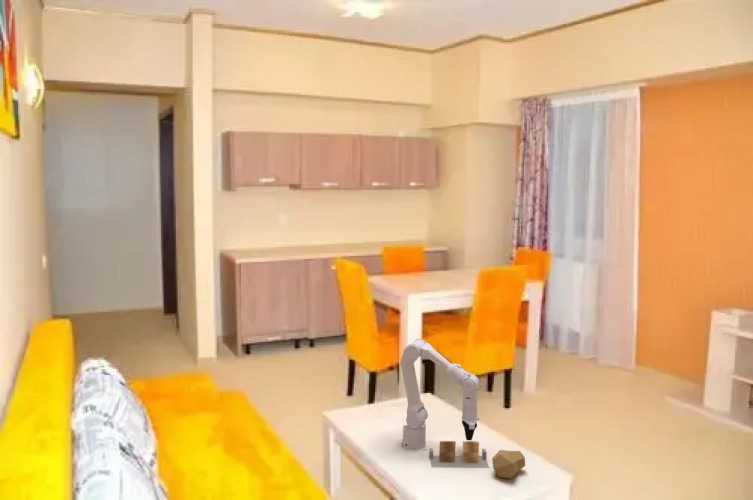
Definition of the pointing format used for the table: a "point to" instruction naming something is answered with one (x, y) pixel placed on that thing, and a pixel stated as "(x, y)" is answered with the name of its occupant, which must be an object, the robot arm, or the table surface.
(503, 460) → the low-poly potato
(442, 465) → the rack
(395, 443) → the table surface
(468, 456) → the oak tile
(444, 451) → the walnut tile
